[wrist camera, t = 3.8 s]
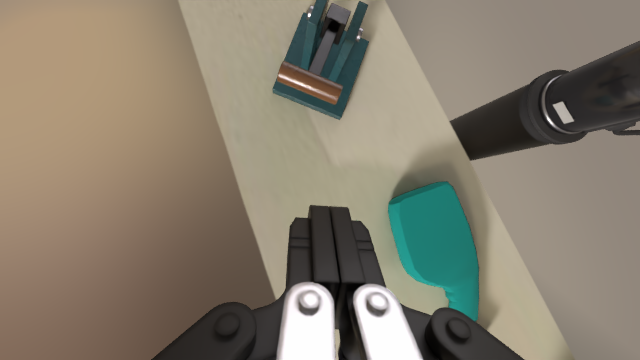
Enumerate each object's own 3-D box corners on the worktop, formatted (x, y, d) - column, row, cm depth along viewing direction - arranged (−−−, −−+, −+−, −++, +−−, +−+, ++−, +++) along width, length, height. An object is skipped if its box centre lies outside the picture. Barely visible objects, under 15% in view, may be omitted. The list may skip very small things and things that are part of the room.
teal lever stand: (339, 120, 39) (364, 85, 27) (272, 92, 38) (269, 45, 26) (366, 46, 41) (401, -17, 29) (302, 17, 39) (312, -60, 28)
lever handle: (332, 111, 25) (341, 92, 23) (275, 87, 24) (279, 65, 22) (356, 37, 31) (365, 17, 29) (311, 17, 31) (317, -5, 29)
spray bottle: (445, 178, 41) (496, 338, 40) (378, 201, 39) (431, 368, 39) (458, 177, 38) (513, 349, 38) (386, 201, 36) (444, 382, 36)
